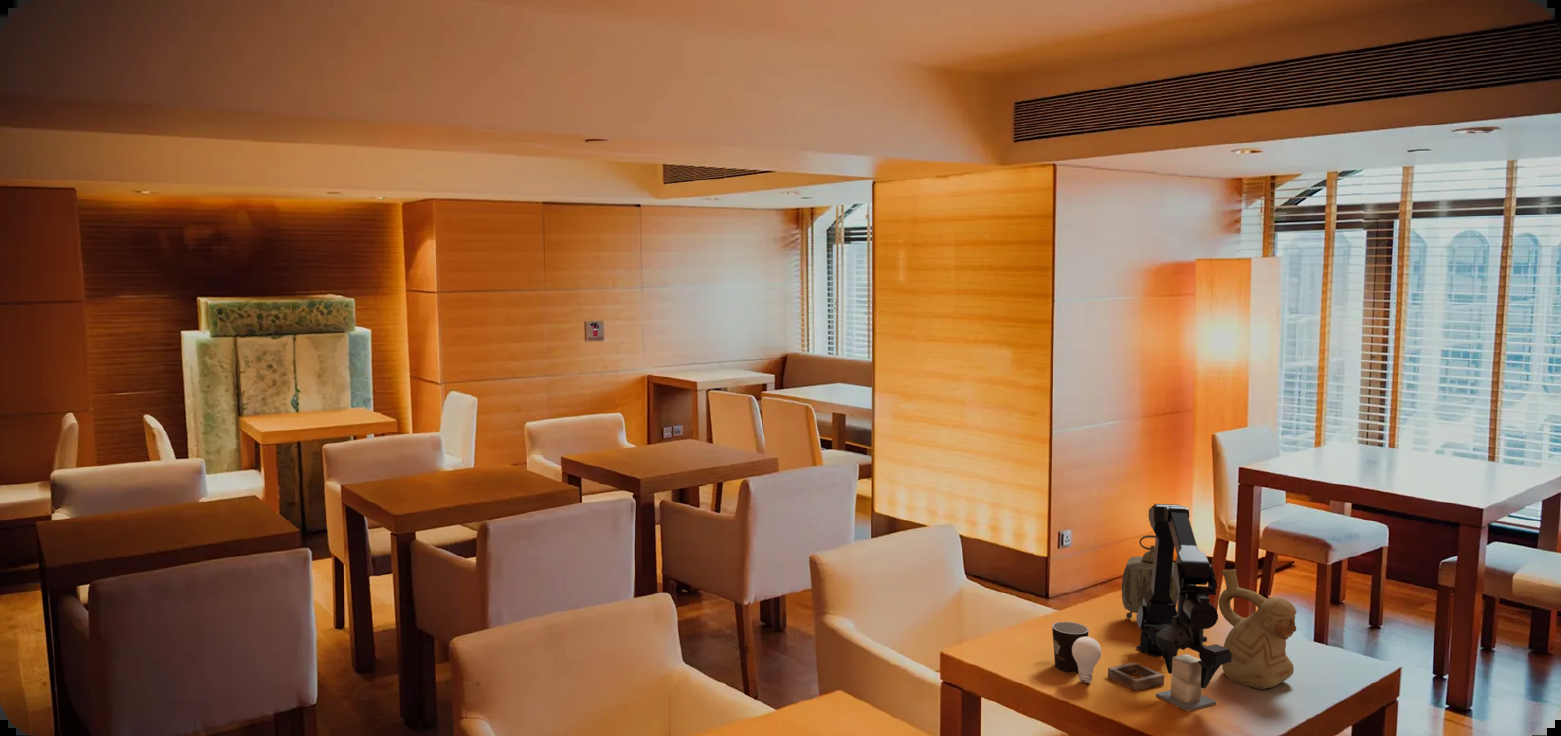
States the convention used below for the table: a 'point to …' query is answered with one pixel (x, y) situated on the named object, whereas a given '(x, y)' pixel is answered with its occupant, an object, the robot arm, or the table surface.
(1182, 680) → the maple block
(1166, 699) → the felt pad
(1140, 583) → the tabletop clock
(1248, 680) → the ceramic vessel
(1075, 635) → the coffee mug
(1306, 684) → the table surface
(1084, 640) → the light bulb
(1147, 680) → the frame
